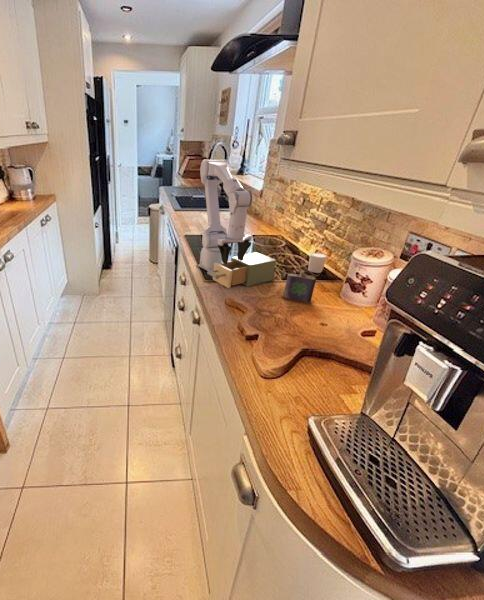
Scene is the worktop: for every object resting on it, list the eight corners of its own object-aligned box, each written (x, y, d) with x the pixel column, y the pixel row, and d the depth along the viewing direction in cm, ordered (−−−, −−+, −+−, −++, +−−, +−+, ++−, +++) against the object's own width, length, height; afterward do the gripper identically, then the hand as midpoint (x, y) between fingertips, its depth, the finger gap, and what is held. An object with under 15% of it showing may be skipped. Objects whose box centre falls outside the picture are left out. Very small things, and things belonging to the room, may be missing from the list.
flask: (282, 298, 116) (288, 270, 111) (283, 295, 118) (289, 267, 113) (310, 303, 112) (317, 275, 108) (310, 300, 115) (318, 272, 110)
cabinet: (247, 286, 125) (250, 265, 121) (229, 276, 133) (231, 256, 129) (272, 280, 131) (276, 259, 127) (253, 271, 139) (256, 252, 135)
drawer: (218, 290, 119) (220, 273, 116) (203, 281, 126) (204, 264, 123) (253, 282, 126) (255, 265, 123) (236, 273, 134) (238, 258, 130)
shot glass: (303, 268, 143) (306, 253, 140) (314, 266, 146) (318, 251, 142) (315, 274, 137) (319, 258, 134) (327, 272, 140) (331, 256, 137)
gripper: (228, 230, 110) (224, 267, 116) (259, 225, 117) (254, 261, 123) (215, 225, 116) (212, 261, 122) (246, 221, 122) (241, 256, 128)
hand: (232, 261), depth 123 cm, fingers open, 7 cm apart
